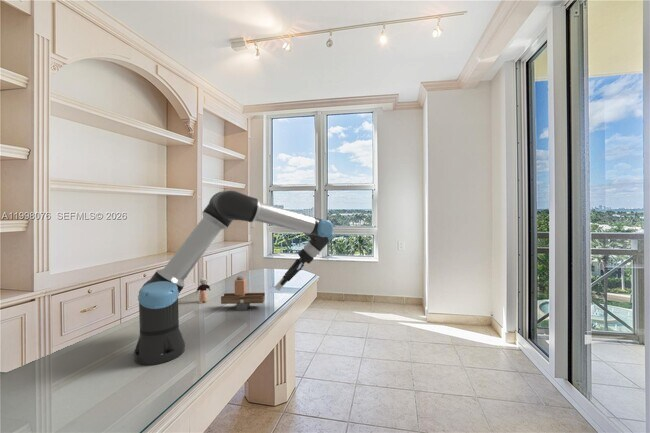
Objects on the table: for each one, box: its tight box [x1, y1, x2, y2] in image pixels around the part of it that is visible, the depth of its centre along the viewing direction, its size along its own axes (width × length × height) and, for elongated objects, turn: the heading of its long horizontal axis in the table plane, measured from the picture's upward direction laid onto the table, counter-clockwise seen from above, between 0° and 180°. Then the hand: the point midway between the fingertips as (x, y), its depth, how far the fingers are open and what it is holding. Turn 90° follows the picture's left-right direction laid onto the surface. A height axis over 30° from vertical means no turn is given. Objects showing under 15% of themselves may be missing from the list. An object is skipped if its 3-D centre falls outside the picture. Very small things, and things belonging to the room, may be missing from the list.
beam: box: [220, 292, 266, 311], centre depth 149 cm, size 7×20×7 cm, turn 92°
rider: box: [234, 276, 247, 296], centre depth 149 cm, size 4×4×10 cm
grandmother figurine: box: [195, 277, 212, 304], centre depth 159 cm, size 8×4×13 cm, turn 143°
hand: (276, 288), depth 149 cm, fingers closed
